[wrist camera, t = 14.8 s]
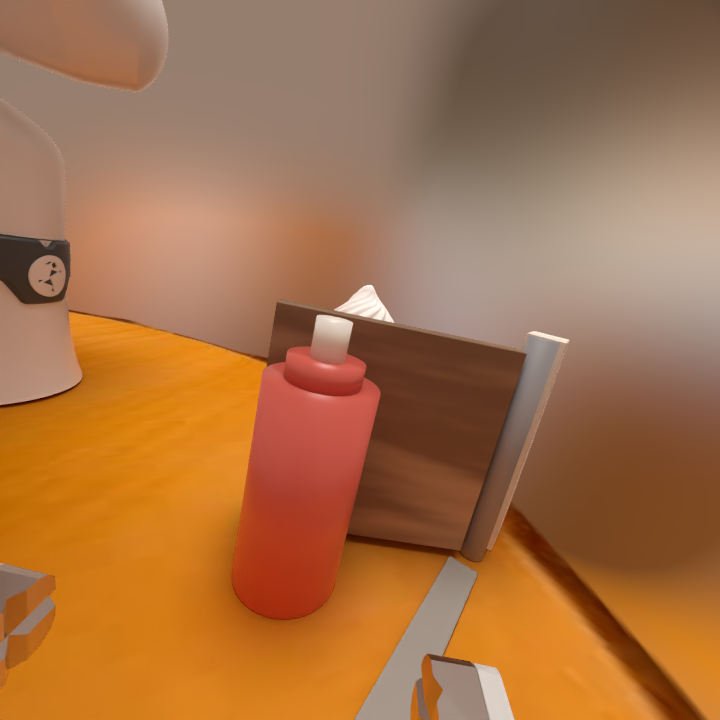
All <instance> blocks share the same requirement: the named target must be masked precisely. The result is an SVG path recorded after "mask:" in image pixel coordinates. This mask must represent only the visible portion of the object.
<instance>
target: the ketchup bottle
mask: <svg viewBox="0 0 720 720" xmlns="http://www.w3.org/2000/svg"><path fill="white" fill-rule="evenodd" d="M352 326H353V322H351V321H349V320H346V319H343V318H339V317H334V316H329V315H317V317H316V323H315V328H314V333H313V339H312V344H311V347H305V346H303V347H293V348H290V349H289V350H288V351H287V355H286V361H285V362H281V363H275V364H272V365H269V366H267V367H266V368H265V369H264V370H263V373H262V379H261V386H260V393H259V399H258V406H257V412H256V419H255V425H254V432H253V438H252V445H251V451H250V458H249V464H248V471H247V477H246V484H245V490H244V497H243V503H242V510H241V516H240V523H239V529H238V536H237V542H236V549H235V555H234V562H233V568H232V584H233V587H234V590H235V592H236V594H237V596H238V598H239V599H240V600H241V602H242V603H243V604H245V605H246V606H247V607H248V608H249V609H251V610H252V611H254V612H256V613H258V614H260V615H262V616H265V617H269V618H273V619H295V618H299V617H303V616H306V615H308V614H310V613H312V612H314V611H315V610H317V609H318V608H320V607H321V606H322V605H323V604H324V603H325V602H326V601H327V599H328V598H329V597H330V595H331V593H332V591H333V588H334V585H335V581H336V577H337V572H338V568H339V564H340V560H341V556H342V552H343V548H344V543H345V539H346V535H347V531H348V527H349V523H350V519H351V515H352V510H353V506H354V502H355V498H356V494H357V490H358V486H359V481H360V477H361V473H362V469H363V465H364V461H365V457H366V453H367V448H368V444H369V440H370V436H371V432H372V428H373V424H374V419H375V415H376V411H377V407H378V403H379V399H380V390H379V388H378V387H377V386H376V385H375V384H374V383H373V382H371V381H370V380H368V379H367V378H365V377H364V375H365V371H366V364H365V363H364V362H363V361H361V360H360V359H358V358H356V357H354V356H351V355H349V354H347V350H348V345H349V341H350V336H351V331H352Z"/></svg>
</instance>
